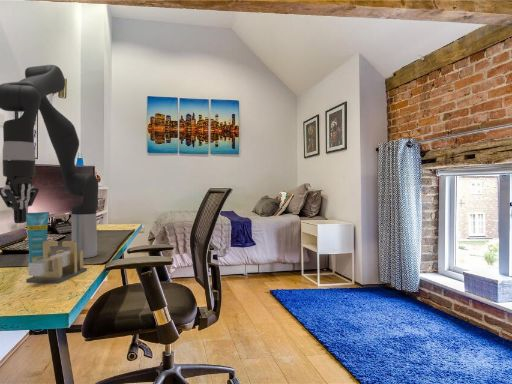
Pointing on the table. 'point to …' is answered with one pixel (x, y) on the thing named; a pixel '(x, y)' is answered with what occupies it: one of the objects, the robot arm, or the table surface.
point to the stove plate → (65, 276)
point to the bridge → (64, 244)
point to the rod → (47, 264)
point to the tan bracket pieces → (60, 265)
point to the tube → (36, 233)
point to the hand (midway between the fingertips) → (20, 222)
